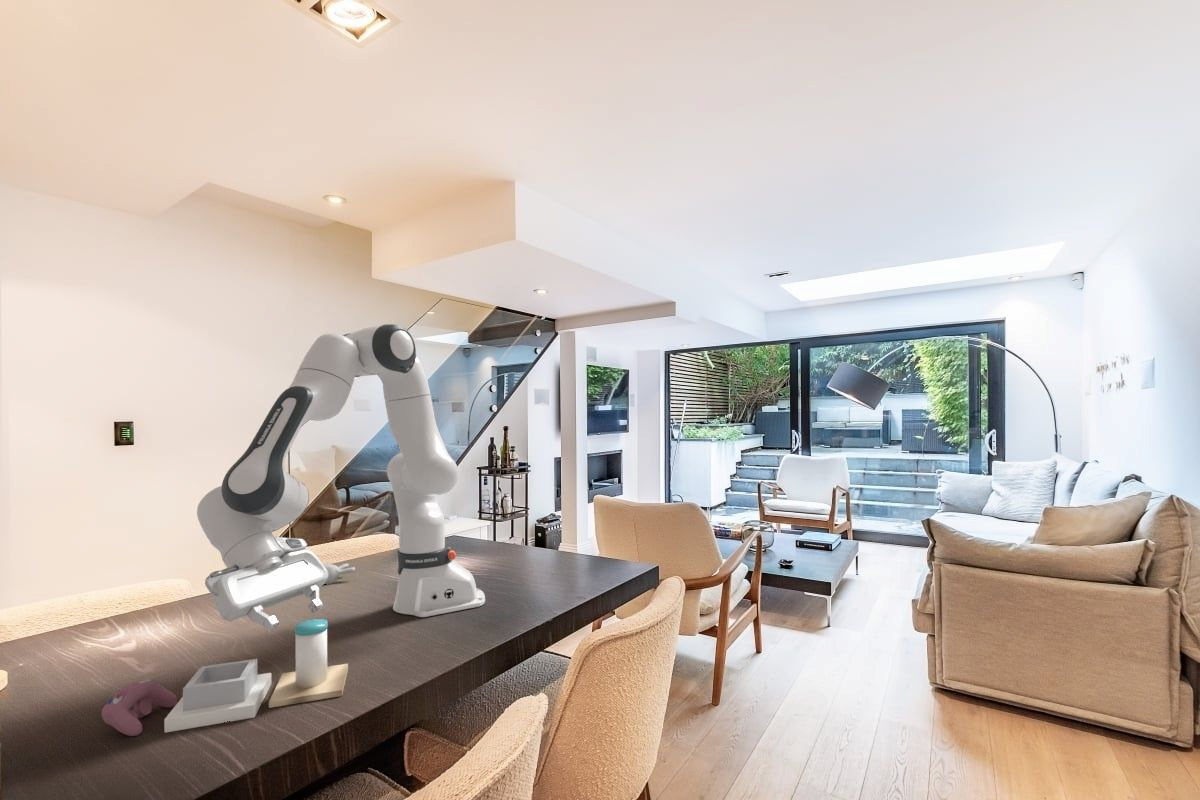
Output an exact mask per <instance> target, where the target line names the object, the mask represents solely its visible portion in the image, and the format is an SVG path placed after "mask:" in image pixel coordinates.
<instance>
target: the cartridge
mask: <svg viewBox="0 0 1200 800" xmlns="http://www.w3.org/2000/svg"><path fill="white" fill-rule="evenodd" d="M328 622H329V621H328V620H327V619H323V618H314V619H307V620H304V621H301V622H298V623H297V624H296V625H294V634H295V671H296V686H297V687H299V688H310V687H314V686H318V685H320V684H322V683H324V682H325V681H326V680H327V667H328V629H329V628H328V627H329V624H328Z"/></svg>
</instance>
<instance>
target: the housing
mask: <svg viewBox="0 0 1200 800" xmlns="http://www.w3.org/2000/svg"><path fill="white" fill-rule="evenodd" d="M271 686H272V672H267V673H258V658H252V659H246V660H239V661H231V662H224V663H217V664H216V663H215V664H211V665H203V666H200V668H198V669H197V671H196V672H195V674H194V675H193V676H192V677H191V678H190V680H189V681H187V683H186V685H185V686H184V687H183V688H182V697H181V698H180V699H179V701H177V704H176V705H175V706H174V707H172V709H171V710H170V712H169V713H168V714H167V716H166V717H164V724H163V725H164V726H163V727H164V733H170V732H171V733H172V732H176V731H183V730H187V729H189V730H190V729H194V728H199V727H206V726H212V725H216V724H217V725H218V724H223V723H224V722H225V723H229V721H230V722H234V721H235V722H236V721H242V720H247V719H253V718H256V716H257V713H258V711H259V710H260V707H261V705H262V704H263V702H264V699H265V697H266V695H267V694H268V692H269V690H270V688H271ZM227 721H228V722H227Z"/></svg>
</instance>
